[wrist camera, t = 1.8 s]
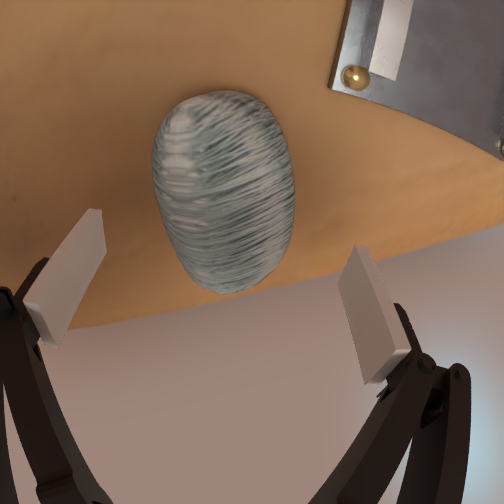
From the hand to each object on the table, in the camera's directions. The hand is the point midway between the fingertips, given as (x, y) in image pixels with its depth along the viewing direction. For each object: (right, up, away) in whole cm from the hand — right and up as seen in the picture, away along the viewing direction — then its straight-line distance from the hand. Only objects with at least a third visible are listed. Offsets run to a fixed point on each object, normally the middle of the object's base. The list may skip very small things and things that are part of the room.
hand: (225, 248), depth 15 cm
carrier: (+18, +18, -1) cm, 26 cm away
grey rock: (-1, +6, +8) cm, 10 cm away
